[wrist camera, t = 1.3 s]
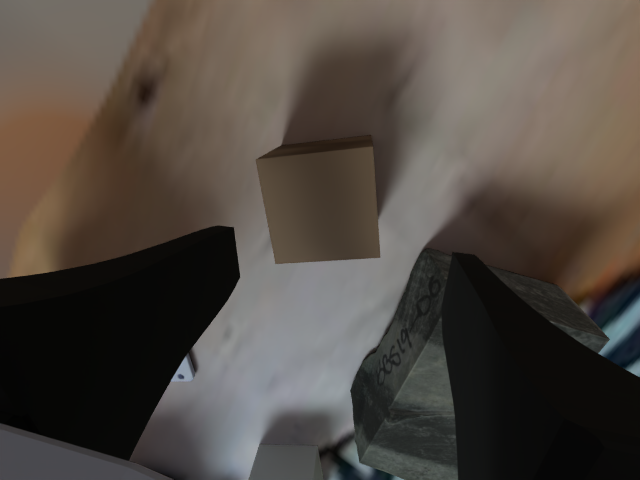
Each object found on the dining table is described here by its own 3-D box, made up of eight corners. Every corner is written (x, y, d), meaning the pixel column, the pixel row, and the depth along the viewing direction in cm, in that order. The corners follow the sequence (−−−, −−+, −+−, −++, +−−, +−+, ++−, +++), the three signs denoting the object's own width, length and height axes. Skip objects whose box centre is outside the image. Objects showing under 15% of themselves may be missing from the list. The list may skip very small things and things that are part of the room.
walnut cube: (294, 228, 21) (275, 264, 16) (281, 145, 19) (255, 159, 15) (376, 221, 20) (380, 257, 16) (370, 134, 18) (373, 146, 14)
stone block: (343, 401, 26) (338, 468, 22) (414, 236, 21) (429, 278, 16) (454, 436, 26) (474, 512, 21) (557, 281, 21) (614, 336, 16)
